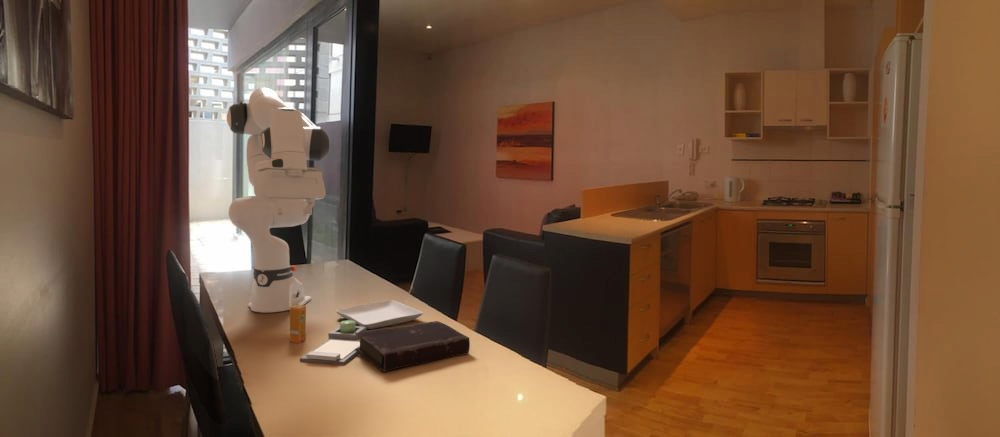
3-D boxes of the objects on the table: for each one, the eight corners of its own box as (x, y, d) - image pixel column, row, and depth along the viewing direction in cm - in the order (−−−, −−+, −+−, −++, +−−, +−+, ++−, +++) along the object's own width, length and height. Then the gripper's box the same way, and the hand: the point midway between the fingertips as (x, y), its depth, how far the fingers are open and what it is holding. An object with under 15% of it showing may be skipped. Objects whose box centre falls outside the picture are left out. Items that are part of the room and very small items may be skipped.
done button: (344, 329, 162) (344, 319, 162) (358, 330, 161) (358, 320, 161) (337, 334, 158) (337, 324, 157) (351, 335, 157) (351, 325, 157)
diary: (470, 355, 146) (470, 337, 146) (384, 374, 131) (384, 354, 131) (434, 334, 161) (435, 318, 160) (353, 349, 146) (353, 331, 145)
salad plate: (364, 335, 162) (364, 323, 162) (334, 319, 178) (334, 308, 178) (424, 322, 176) (424, 311, 176) (391, 308, 192) (391, 298, 192)
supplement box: (300, 343, 153) (299, 308, 152) (289, 342, 154) (288, 307, 153) (306, 339, 157) (306, 305, 156) (296, 338, 157) (295, 304, 156)
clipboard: (330, 341, 155) (329, 334, 155) (369, 344, 153) (369, 337, 153) (299, 361, 139) (299, 353, 139) (343, 365, 137) (343, 357, 137)
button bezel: (341, 331, 164) (341, 325, 164) (366, 333, 163) (366, 326, 163) (328, 339, 156) (328, 333, 156) (354, 341, 155) (354, 335, 155)
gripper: (314, 169, 160) (317, 216, 160) (248, 164, 143) (252, 216, 143) (328, 166, 157) (331, 213, 156) (262, 160, 140) (266, 213, 139)
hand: (293, 215), depth 149 cm, fingers open, 8 cm apart
